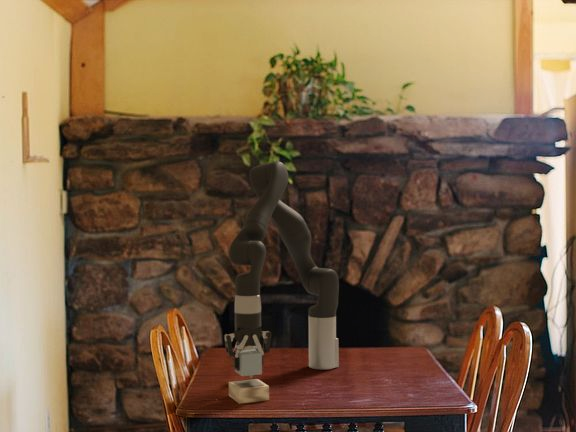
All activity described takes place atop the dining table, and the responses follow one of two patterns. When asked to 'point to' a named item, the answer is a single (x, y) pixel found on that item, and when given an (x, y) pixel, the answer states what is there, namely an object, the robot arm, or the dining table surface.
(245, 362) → the cube
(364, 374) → the dining table surface
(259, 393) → the base
